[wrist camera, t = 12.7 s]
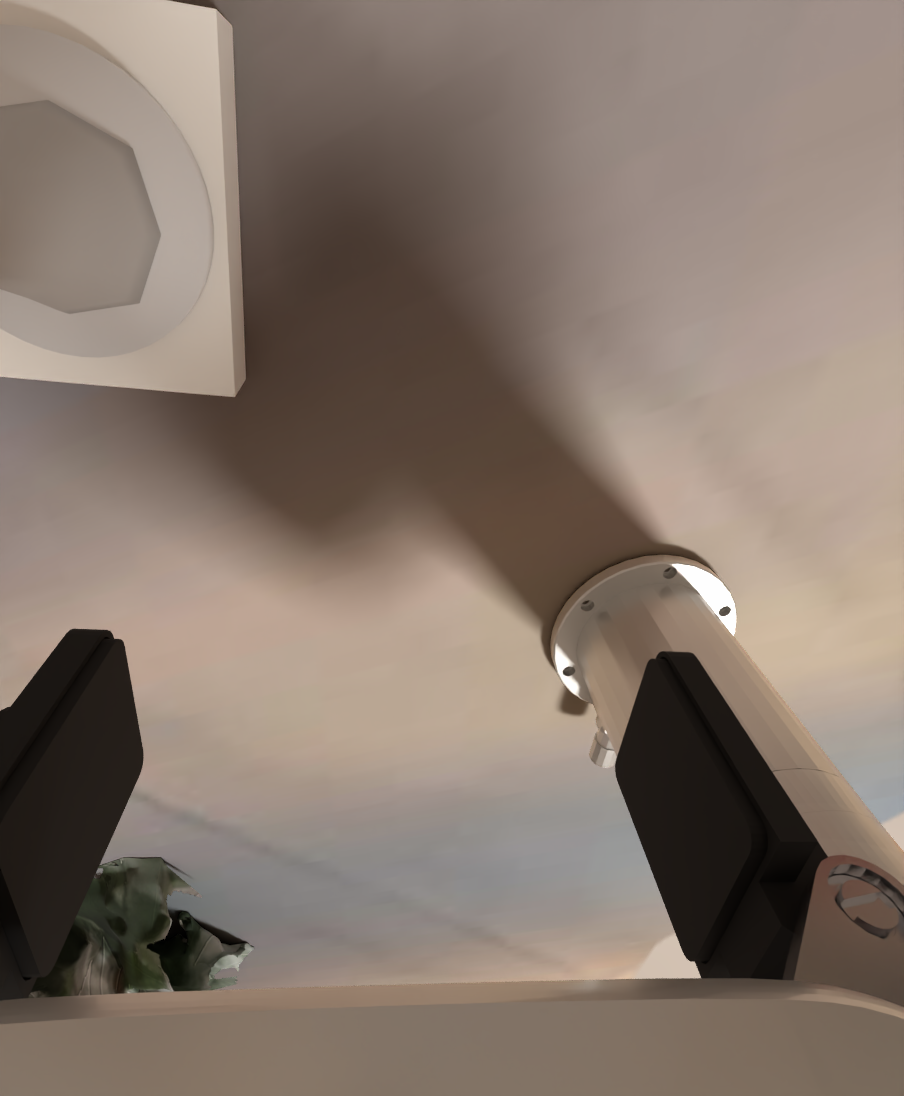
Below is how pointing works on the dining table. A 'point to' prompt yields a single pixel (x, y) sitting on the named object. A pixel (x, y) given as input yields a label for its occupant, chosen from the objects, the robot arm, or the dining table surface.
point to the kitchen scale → (171, 182)
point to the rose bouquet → (136, 939)
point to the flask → (71, 212)
